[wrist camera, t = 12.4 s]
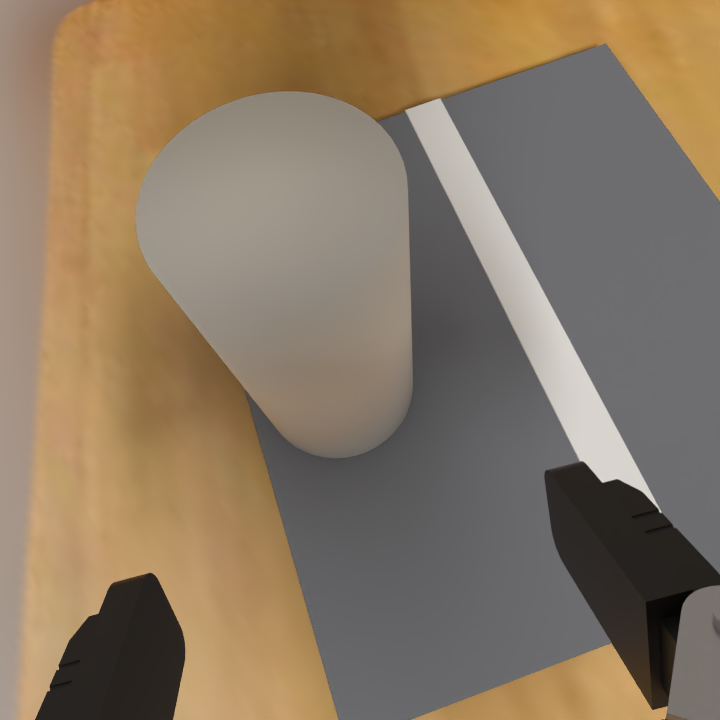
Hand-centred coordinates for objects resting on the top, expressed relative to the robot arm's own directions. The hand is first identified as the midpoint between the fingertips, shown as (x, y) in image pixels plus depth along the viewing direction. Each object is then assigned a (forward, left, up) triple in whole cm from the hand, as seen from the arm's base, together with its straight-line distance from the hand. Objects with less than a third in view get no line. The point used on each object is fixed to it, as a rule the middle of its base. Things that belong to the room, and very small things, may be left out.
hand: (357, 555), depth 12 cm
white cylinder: (-1, -6, -6) cm, 9 cm away
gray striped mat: (-7, -6, -7) cm, 11 cm away
